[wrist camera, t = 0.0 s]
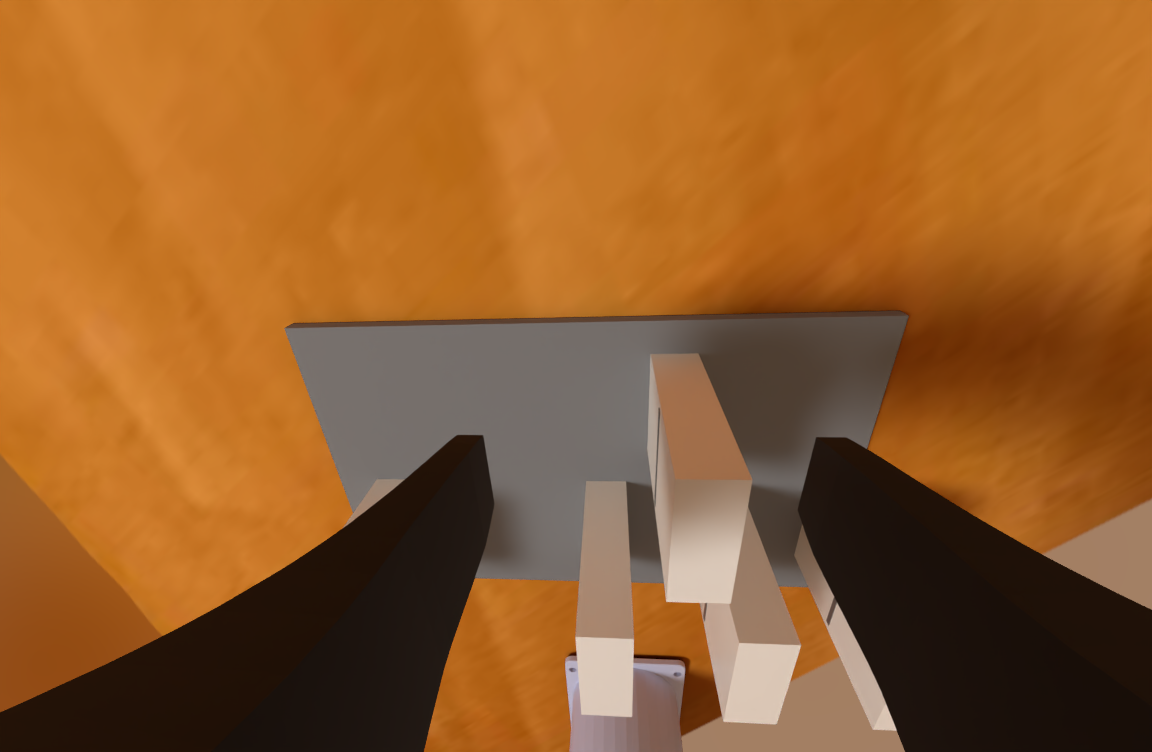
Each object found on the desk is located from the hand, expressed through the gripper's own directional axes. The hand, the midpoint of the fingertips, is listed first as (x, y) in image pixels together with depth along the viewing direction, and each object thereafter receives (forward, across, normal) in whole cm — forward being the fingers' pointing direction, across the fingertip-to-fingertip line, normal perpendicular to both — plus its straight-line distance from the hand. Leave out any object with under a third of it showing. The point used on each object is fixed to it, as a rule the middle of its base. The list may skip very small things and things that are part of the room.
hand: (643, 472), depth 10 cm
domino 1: (+10, +1, +11) cm, 15 cm away
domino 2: (+10, -2, +4) cm, 10 cm away
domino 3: (+10, -5, +11) cm, 15 cm away
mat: (+10, +2, +8) cm, 13 cm away
